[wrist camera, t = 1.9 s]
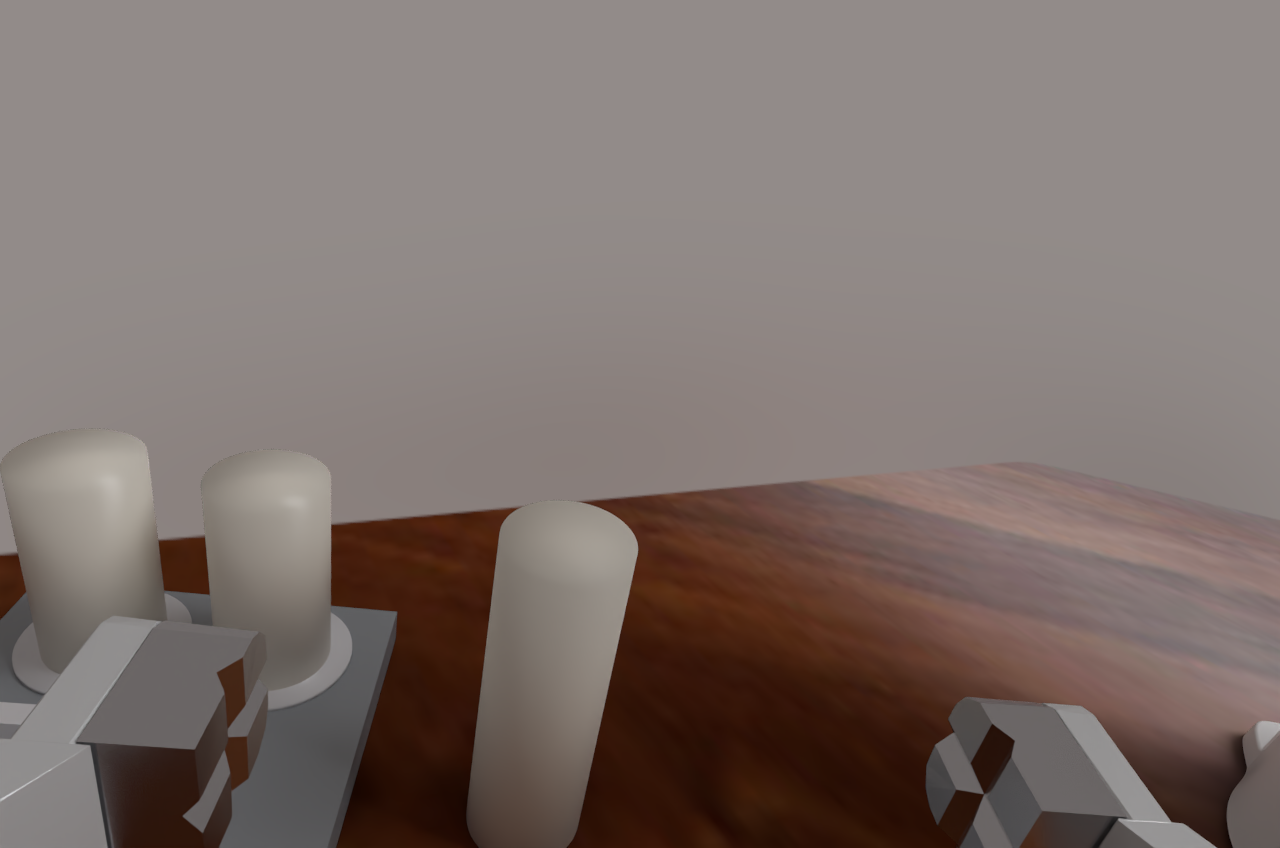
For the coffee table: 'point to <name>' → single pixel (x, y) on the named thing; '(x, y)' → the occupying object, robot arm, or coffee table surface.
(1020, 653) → the coffee table surface
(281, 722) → the pin board
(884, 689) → the coffee table surface
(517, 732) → the ivory pin
